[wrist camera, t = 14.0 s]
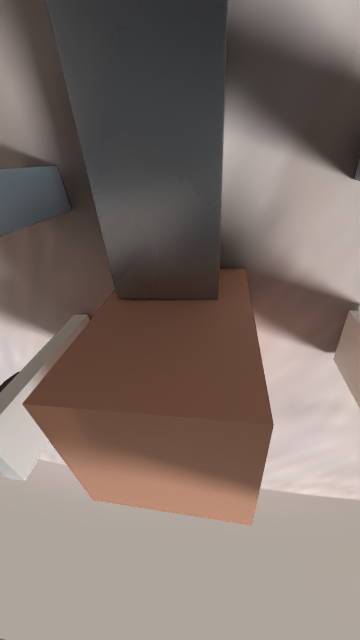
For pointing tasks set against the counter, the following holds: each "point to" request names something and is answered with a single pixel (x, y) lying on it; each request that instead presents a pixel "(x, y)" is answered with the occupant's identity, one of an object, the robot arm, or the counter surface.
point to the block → (164, 404)
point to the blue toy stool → (36, 196)
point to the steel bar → (150, 135)
